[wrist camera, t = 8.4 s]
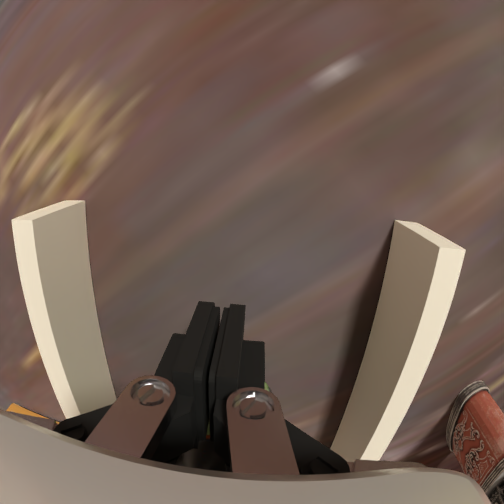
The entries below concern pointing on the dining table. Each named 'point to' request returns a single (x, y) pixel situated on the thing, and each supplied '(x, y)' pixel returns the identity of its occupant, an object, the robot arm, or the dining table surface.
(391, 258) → the box
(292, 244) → the dining table surface
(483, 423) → the lighter
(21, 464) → the robot arm
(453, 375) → the dining table surface
